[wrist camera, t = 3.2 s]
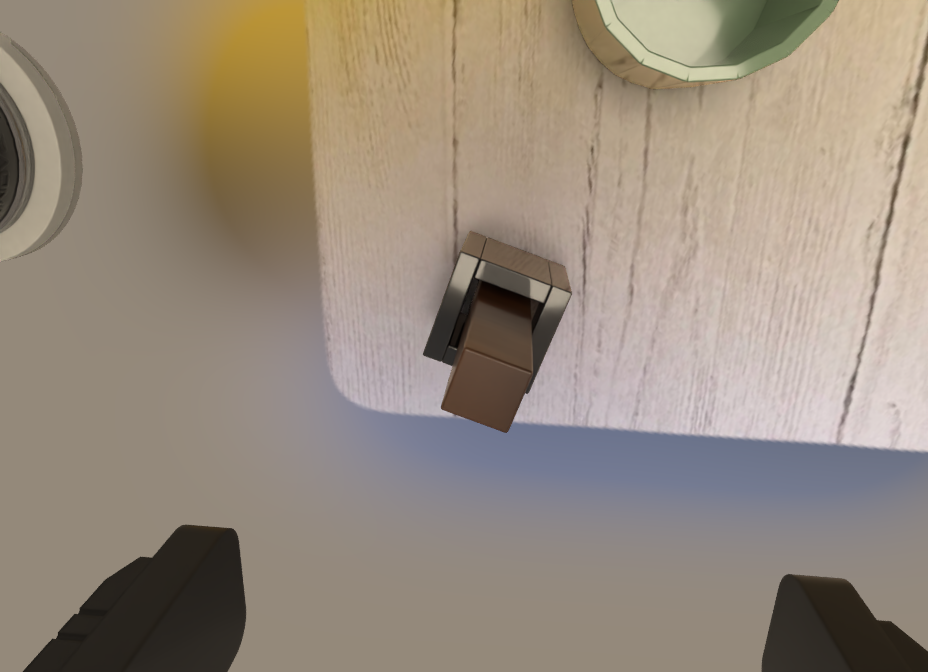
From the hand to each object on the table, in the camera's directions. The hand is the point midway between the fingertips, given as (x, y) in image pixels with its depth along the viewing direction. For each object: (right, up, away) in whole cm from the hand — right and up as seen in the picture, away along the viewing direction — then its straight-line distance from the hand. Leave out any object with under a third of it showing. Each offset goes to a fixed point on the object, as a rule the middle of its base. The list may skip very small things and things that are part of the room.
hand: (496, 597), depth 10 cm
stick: (+1, +6, +23) cm, 23 cm away
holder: (+1, +6, +23) cm, 23 cm away
